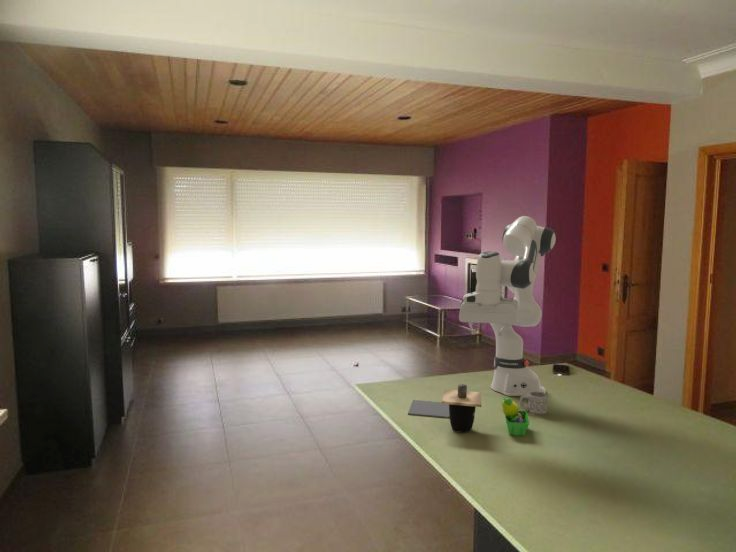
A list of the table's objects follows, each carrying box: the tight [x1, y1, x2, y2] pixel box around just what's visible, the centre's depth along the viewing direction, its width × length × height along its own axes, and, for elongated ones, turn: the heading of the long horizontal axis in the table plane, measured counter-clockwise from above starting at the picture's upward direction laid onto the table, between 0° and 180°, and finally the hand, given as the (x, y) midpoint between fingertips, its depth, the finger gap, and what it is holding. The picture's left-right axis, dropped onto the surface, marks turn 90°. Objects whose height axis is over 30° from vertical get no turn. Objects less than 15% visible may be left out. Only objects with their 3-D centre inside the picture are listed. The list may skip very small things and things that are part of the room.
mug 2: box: [519, 392, 548, 415], centre depth 198 cm, size 10×7×7 cm, turn 84°
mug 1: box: [449, 404, 477, 433], centre depth 181 cm, size 12×9×10 cm
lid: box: [441, 383, 482, 408], centre depth 180 cm, size 13×13×5 cm
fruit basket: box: [501, 397, 530, 437], centre depth 179 cm, size 11×9×11 cm
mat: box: [407, 399, 450, 419], centre depth 198 cm, size 15×15×1 cm
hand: (486, 334), depth 189 cm, fingers open, 8 cm apart
